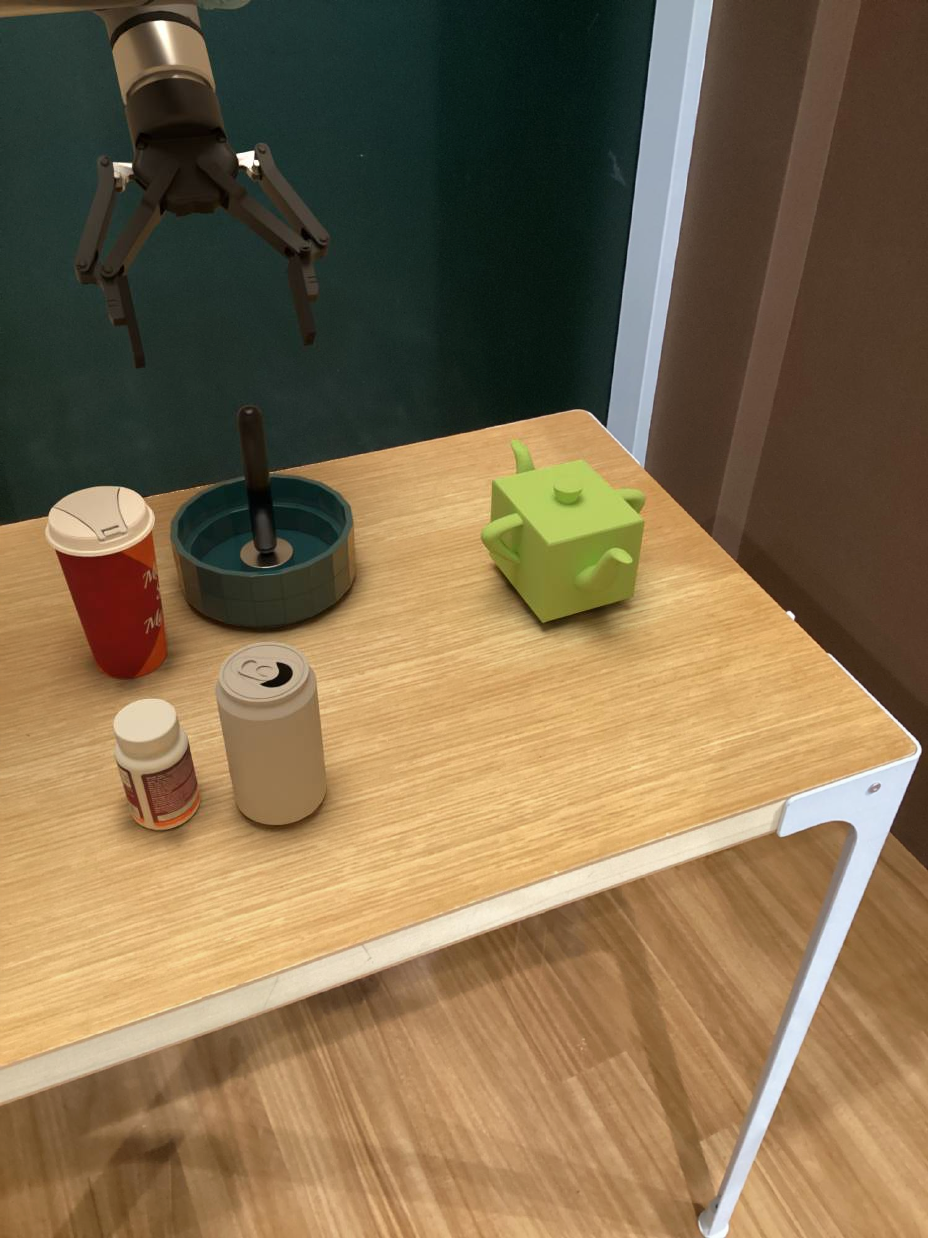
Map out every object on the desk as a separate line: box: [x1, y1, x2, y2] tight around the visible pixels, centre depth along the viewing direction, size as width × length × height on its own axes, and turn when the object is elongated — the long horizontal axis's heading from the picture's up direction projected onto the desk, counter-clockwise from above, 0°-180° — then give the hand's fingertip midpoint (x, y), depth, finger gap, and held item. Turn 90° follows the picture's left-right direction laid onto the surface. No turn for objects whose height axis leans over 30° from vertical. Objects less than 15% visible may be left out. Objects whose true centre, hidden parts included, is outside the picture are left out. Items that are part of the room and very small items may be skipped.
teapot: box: [480, 439, 646, 623], centre depth 91 cm, size 15×13×11 cm
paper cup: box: [44, 485, 168, 680], centre depth 81 cm, size 8×8×14 cm
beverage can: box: [214, 641, 328, 826], centre depth 71 cm, size 6×6×12 cm
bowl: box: [169, 472, 357, 629], centre depth 92 cm, size 15×15×6 cm
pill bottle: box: [112, 698, 201, 831], centre depth 71 cm, size 5×5×8 cm
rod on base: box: [236, 404, 295, 572], centre depth 89 cm, size 5×5×16 cm
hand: (227, 350), depth 86 cm, fingers open, 13 cm apart
